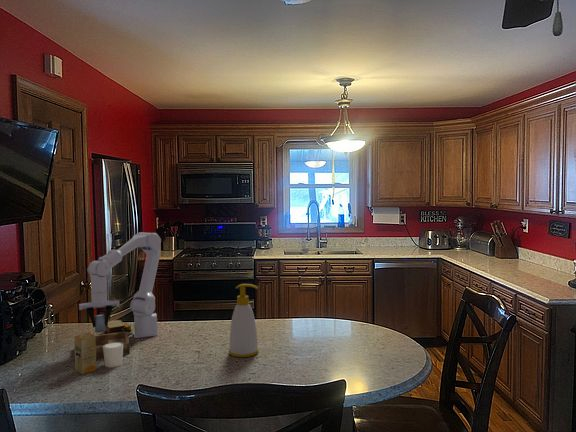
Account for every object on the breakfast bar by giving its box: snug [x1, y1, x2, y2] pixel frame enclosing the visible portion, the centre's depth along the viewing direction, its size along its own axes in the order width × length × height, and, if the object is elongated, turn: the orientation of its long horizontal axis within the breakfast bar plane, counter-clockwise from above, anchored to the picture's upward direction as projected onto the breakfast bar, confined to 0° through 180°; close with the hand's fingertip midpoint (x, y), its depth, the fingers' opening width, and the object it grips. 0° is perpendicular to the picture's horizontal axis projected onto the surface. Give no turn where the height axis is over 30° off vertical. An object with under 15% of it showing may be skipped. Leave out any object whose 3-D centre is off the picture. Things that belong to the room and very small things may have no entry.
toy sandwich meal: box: [101, 319, 134, 336], centre depth 198 cm, size 12×14×5 cm
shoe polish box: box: [73, 332, 97, 375], centre depth 157 cm, size 5×5×12 cm
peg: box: [94, 314, 106, 334], centre depth 179 cm, size 4×4×6 cm
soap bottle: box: [228, 283, 259, 358], centre depth 172 cm, size 11×12×26 cm
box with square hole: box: [94, 332, 131, 359], centre depth 177 cm, size 18×16×4 cm
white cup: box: [103, 342, 124, 368], centre depth 162 cm, size 7×7×7 cm
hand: (100, 325), depth 179 cm, fingers closed on peg, 4 cm apart
